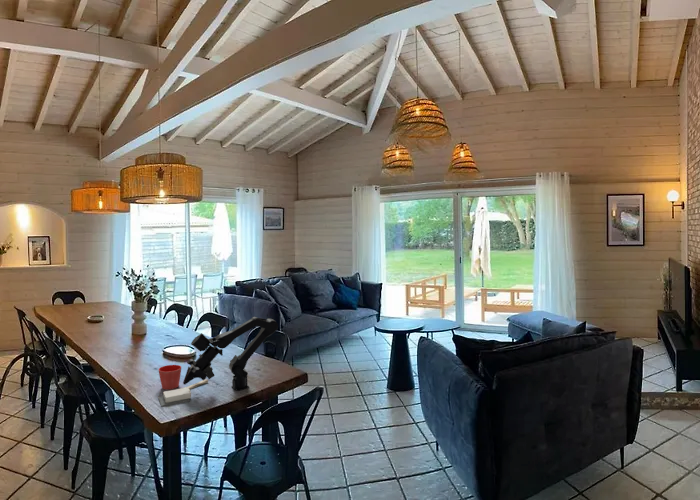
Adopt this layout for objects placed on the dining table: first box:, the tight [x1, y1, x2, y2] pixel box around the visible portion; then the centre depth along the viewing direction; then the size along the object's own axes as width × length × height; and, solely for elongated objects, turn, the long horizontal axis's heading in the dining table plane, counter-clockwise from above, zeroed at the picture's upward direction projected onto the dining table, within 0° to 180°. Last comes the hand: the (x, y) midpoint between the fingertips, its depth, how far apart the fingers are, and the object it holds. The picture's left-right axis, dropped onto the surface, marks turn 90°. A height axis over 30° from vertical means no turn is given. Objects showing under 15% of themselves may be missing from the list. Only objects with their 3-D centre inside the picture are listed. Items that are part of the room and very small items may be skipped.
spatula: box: [183, 378, 209, 391], centre depth 220 cm, size 18×4×1 cm, turn 144°
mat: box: [157, 395, 190, 408], centre depth 206 cm, size 12×12×1 cm
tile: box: [162, 386, 192, 403], centre depth 206 cm, size 3×8×11 cm
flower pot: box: [158, 364, 182, 391], centre depth 221 cm, size 11×11×10 cm
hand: (183, 383), depth 208 cm, fingers closed
